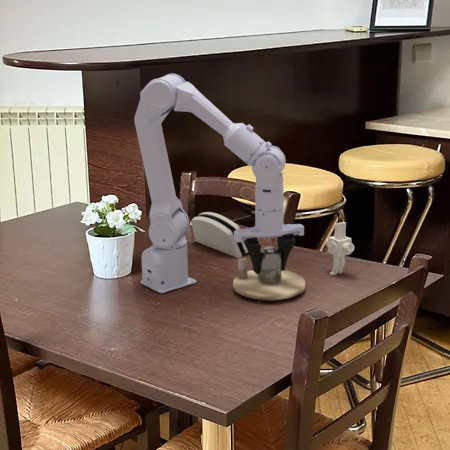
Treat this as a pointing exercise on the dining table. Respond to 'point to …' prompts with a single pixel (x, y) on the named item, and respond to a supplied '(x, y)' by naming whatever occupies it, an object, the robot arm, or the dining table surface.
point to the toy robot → (339, 247)
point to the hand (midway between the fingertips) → (269, 270)
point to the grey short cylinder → (270, 265)
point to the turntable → (267, 284)
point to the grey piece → (217, 233)
